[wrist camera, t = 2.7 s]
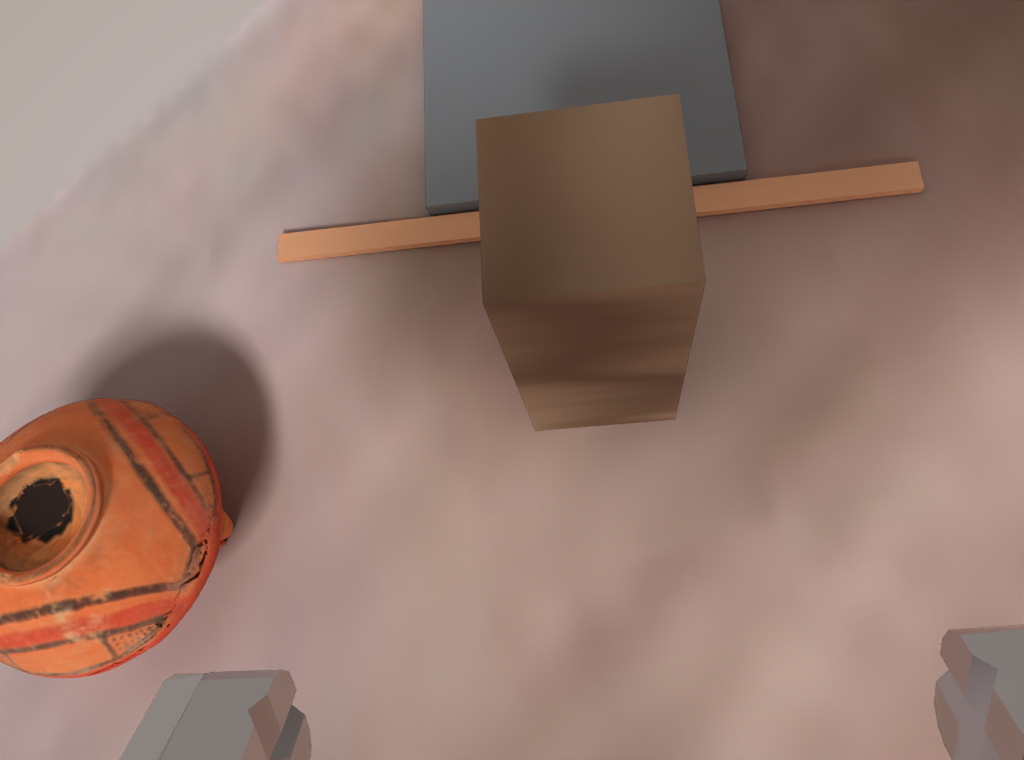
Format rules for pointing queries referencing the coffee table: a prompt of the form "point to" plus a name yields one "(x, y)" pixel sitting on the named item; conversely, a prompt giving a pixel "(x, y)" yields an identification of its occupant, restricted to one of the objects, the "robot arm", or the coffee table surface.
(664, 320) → the wooden square post
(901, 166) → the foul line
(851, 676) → the coffee table surface
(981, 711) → the robot arm
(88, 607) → the pot
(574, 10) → the mat
